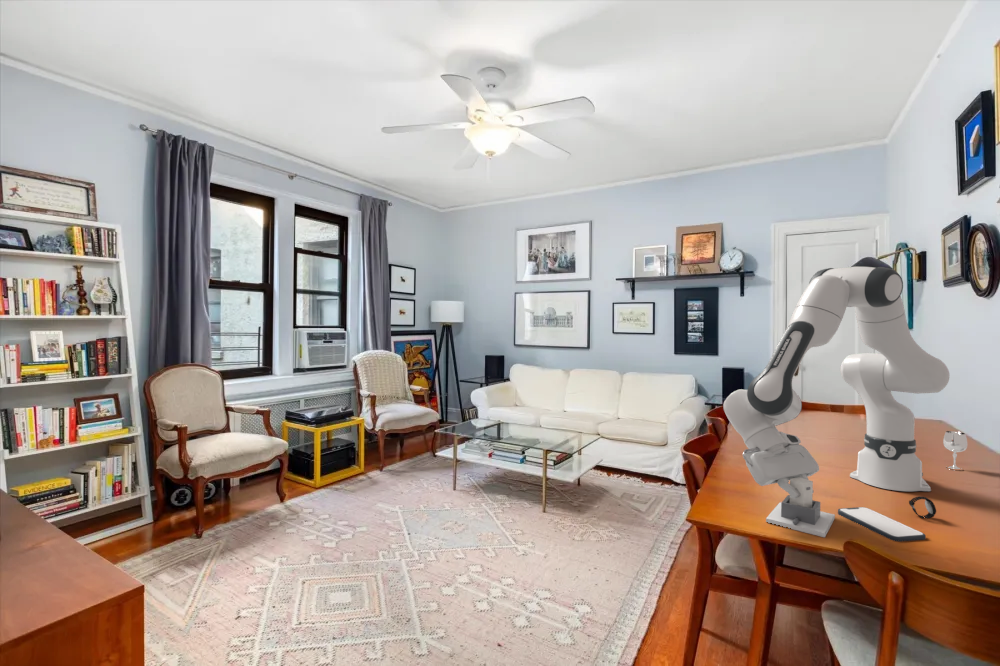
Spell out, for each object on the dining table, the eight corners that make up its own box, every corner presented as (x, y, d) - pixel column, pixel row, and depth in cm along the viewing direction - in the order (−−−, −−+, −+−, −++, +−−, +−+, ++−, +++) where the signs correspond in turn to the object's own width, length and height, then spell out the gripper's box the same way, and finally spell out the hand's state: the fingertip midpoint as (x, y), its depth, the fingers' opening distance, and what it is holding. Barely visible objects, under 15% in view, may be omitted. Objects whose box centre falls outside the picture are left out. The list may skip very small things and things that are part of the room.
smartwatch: (936, 522, 117) (936, 502, 117) (908, 516, 120) (908, 496, 120) (935, 517, 120) (936, 497, 120) (908, 511, 123) (908, 492, 123)
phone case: (929, 542, 108) (865, 512, 124) (929, 535, 108) (865, 506, 124) (895, 545, 107) (834, 514, 122) (895, 537, 107) (834, 508, 122)
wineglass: (965, 472, 154) (966, 435, 154) (941, 468, 158) (942, 432, 158) (967, 469, 158) (968, 432, 157) (943, 465, 162) (944, 429, 162)
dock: (779, 505, 127) (780, 488, 127) (834, 518, 119) (835, 500, 119) (765, 522, 117) (766, 504, 117) (824, 537, 109) (825, 517, 108)
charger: (798, 508, 120) (799, 477, 120) (812, 514, 117) (813, 481, 117) (789, 510, 119) (790, 478, 118) (803, 516, 115) (804, 483, 115)
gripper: (747, 443, 119) (783, 496, 111) (801, 435, 128) (839, 483, 119) (731, 456, 124) (765, 508, 115) (785, 448, 132) (821, 495, 123)
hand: (803, 495), depth 117 cm, fingers closed on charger, 3 cm apart
